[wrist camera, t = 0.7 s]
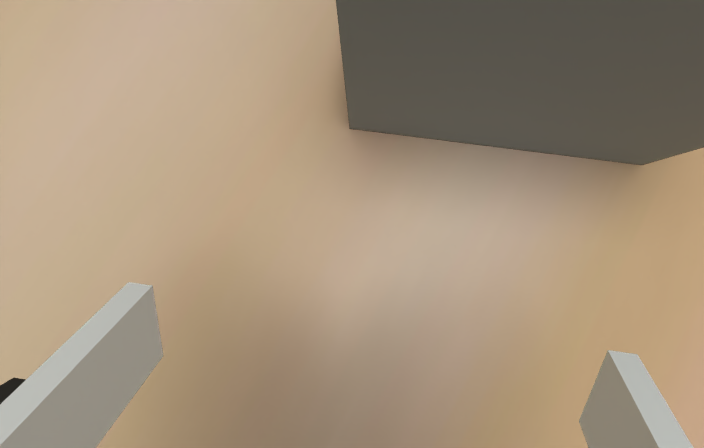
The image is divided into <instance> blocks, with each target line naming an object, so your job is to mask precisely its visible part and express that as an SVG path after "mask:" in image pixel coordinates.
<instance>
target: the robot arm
mask: <svg viewBox="0 0 704 448" xmlns="http://www.w3.org/2000/svg"><path fill="white" fill-rule="evenodd" d="M162 357H163V350H162V344H161V337H160V331H159V324H158V318H157V312H156V305H155V299H154V292H153V286H152V285H145V284H138V283H131V282H128V283H127V284H126V285H125V286H124V287H123V288H122V289H121V290H120V291H119V292H118V293H117V294H116V295H115V296H113V297H112V298H111V299H110V300H109V301H108V302H107V303H106V304H105V305H104V306H103V307H102V308H101V309H100V310H99V311H98V312H97V313H96V314H95V315H94V316H93V317H91V318H90V319H89V320H88V321H87V322H86V323H85V324H84V325H83V326H82V327H81V328H80V329H79V330H78V331H77V332H76V333H75V334H74V335H73V336H72V337H70V338H69V339H68V340H67V341H66V342H65V343H64V344H63V345H62V346H61V347H60V348H59V349H58V350H57V351H56V352H55V353H54V354H53V355H52V356H51V357H49V358H48V359H47V360H46V361H45V362H44V363H43V364H42V365H41V366H40V367H39V368H38V369H37V370H36V371H35V372H34V373H33V374H32V375H31V376H30V377H28V378H27V379H26V380H25V379H19V378H13V379H11V380H9V381H7V382H6V383H4V384H2V385H0V448H96V447H97V445H98V444H99V443H100V441H101V440H102V439H103V437H104V436H105V434H106V433H107V432H108V430H109V429H110V428H111V426H112V425H113V424H114V422H115V421H116V420H117V418H118V417H119V415H120V414H121V413H122V411H123V410H124V409H125V407H126V406H127V405H128V403H129V402H130V400H131V399H132V398H133V396H134V395H135V394H136V392H137V391H138V390H139V388H140V387H141V385H142V384H143V383H144V381H145V380H146V379H147V377H148V376H149V375H150V373H151V372H152V371H153V369H154V368H155V366H156V365H157V364H158V362H159V361H160V360H161V358H162ZM579 423H580V425H581V428H582V431H583V434H584V436H585V439H586V442H587V444H588V447H589V448H693V446H692V445H691V443H690V441H689V440H688V438H687V436H686V435H685V433H684V431H683V430H682V428H681V426H680V425H679V423H678V421H677V420H676V418H675V416H674V415H673V413H672V411H671V410H670V408H669V406H668V405H667V403H666V401H665V400H664V398H663V396H662V395H661V393H660V391H659V390H658V388H657V386H656V385H655V383H654V381H653V380H652V378H651V376H650V375H649V373H648V371H647V370H646V368H645V366H644V365H643V363H642V361H641V360H640V358H639V356H638V355H637V354H631V353H624V352H617V351H610V350H608V351H607V354H606V356H605V359H604V361H603V363H602V366H601V368H600V371H599V373H598V376H597V378H596V381H595V383H594V385H593V388H592V390H591V393H590V395H589V398H588V400H587V403H586V405H585V407H584V410H583V412H582V415H581V417H580V420H579Z"/></svg>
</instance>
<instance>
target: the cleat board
mask: <svg viewBox="0 0 704 448" xmlns="http://www.w3.org/2000/svg"><path fill="white" fill-rule="evenodd" d="M336 5H337V15H338V24H339V33H340V43H341V52H342V61H343V71H344V80H345V89H346V99H347V108H348V118H349V127H350V129H357V130H365V131H373V132H381V133H389V134H397V135H405V136H413V137H421V138H429V139H437V140H445V141H453V142H461V143H469V144H477V145H485V146H493V147H501V148H509V149H517V150H525V151H533V152H541V153H549V154H557V155H565V156H573V157H581V158H589V159H597V160H605V161H613V162H621V163H629V164H637V165H644V164H647V163H651V162H654V161H658V160H661V159H665V158H668V157H672V156H675V155H679V154H682V153H686V152H689V151H693V150H696V149H700V148H703V147H704V0H336Z"/></svg>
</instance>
